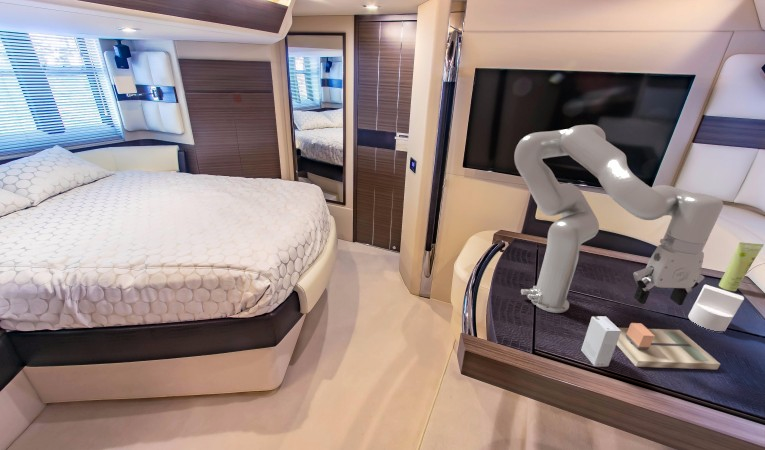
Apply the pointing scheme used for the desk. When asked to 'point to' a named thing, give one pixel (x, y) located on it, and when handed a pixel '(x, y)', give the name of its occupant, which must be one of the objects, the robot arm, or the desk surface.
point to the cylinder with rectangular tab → (715, 308)
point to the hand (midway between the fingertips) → (657, 301)
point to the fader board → (667, 351)
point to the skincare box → (600, 341)
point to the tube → (739, 265)
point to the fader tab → (639, 336)
